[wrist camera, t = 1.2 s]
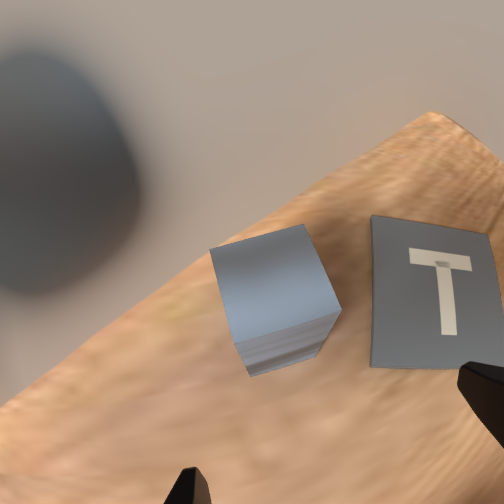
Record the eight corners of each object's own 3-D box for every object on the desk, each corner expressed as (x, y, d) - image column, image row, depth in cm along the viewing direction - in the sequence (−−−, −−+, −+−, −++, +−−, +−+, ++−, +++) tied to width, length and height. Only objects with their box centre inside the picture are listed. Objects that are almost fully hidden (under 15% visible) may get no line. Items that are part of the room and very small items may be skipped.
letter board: (503, 366, 19) (507, 365, 18) (369, 367, 21) (372, 365, 20) (485, 237, 26) (488, 234, 25) (370, 219, 28) (372, 214, 27)
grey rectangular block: (314, 356, 22) (342, 309, 13) (250, 376, 21) (234, 343, 13) (293, 299, 24) (303, 223, 16) (233, 316, 24) (209, 249, 15)
